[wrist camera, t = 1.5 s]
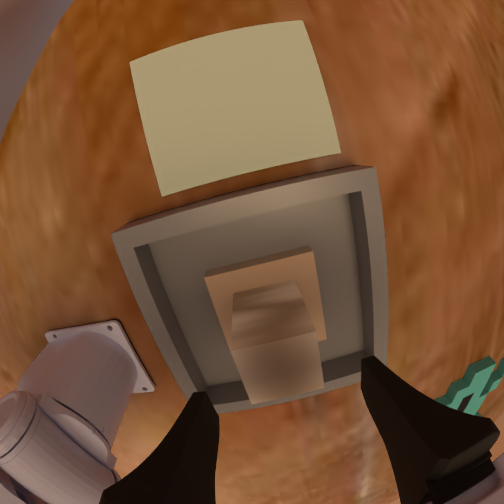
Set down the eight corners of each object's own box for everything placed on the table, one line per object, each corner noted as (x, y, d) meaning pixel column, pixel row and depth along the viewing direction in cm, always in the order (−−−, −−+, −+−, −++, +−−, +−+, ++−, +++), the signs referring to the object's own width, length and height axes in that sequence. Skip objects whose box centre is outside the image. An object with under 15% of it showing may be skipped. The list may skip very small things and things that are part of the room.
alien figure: (519, 337, 26) (428, 378, 26) (527, 344, 24) (436, 390, 24) (475, 421, 32) (388, 460, 32) (480, 428, 30) (392, 469, 30)
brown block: (248, 341, 19) (251, 404, 14) (233, 293, 18) (230, 350, 13) (304, 328, 19) (324, 387, 14) (294, 278, 18) (316, 331, 12)
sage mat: (163, 195, 18) (161, 196, 18) (131, 63, 15) (129, 62, 15) (339, 153, 18) (341, 153, 17) (301, 22, 14) (302, 20, 14)
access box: (200, 390, 24) (196, 416, 20) (129, 222, 18) (110, 234, 15) (372, 350, 23) (386, 372, 20) (355, 164, 18) (375, 167, 15)
